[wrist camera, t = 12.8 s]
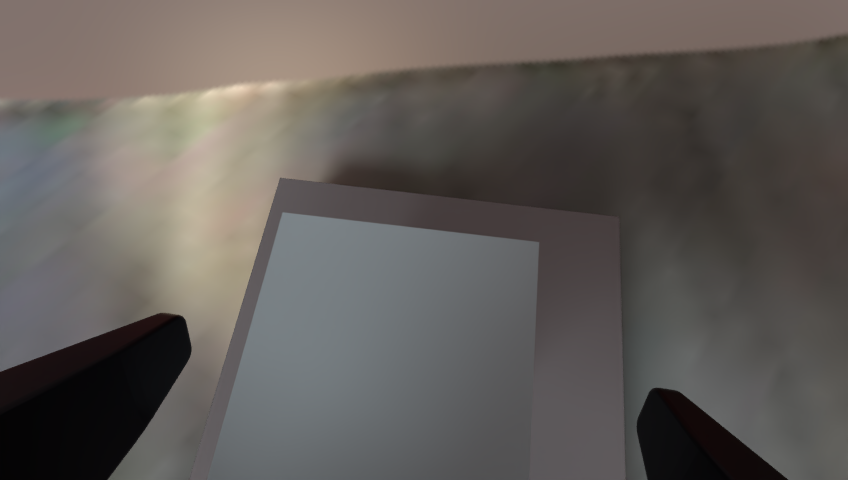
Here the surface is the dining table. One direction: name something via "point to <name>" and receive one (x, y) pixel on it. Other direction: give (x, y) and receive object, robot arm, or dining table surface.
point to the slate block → (385, 357)
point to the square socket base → (555, 316)
